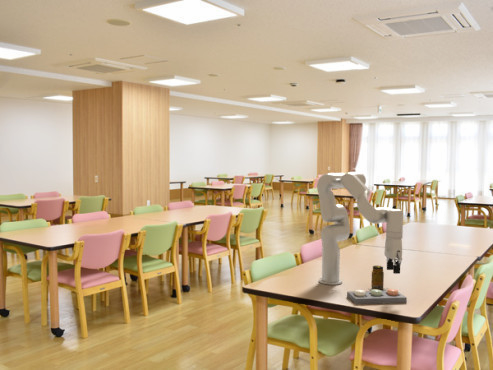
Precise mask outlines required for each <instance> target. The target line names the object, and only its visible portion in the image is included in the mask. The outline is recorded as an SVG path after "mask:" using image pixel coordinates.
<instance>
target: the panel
mask: <svg viewBox="0 0 493 370" xmlns="http://www.w3.org/2000/svg"><path fill="white" fill-rule="evenodd" d="M364 291H365V297H356V296H355V290H353V291H347V292H346V297H347V298H348V299H349V300H350V301H351V302H353V303H354V304H355V305H372V304H375V305H377V304H404V303H405V304H407V299H408V297H407V296H404V294H402V293H400V292H399V291H398V296H389V295H388V294H387V291H382V296H372V295H371V290H364Z"/></svg>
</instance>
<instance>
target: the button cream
mask: <svg viewBox="0 0 493 370" xmlns="http://www.w3.org/2000/svg"><path fill="white" fill-rule="evenodd" d="M354 291H355V296H356V297H365V291H366V290H363V289H355V290H354Z"/></svg>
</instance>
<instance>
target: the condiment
mask: <svg viewBox="0 0 493 370" xmlns="http://www.w3.org/2000/svg"><path fill="white" fill-rule="evenodd" d="M384 275H385V273H384V266H382V265H373V266H372V271H371V286H370V287H369V288H368V290H370V291H371V290H373V289H377V290H381V291H387V290H388V289H389V288H386V287H385V288H384V278H385V277H384Z"/></svg>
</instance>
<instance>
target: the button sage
mask: <svg viewBox="0 0 493 370" xmlns="http://www.w3.org/2000/svg"><path fill="white" fill-rule="evenodd" d="M370 291H371V295H372V296H382V291H381V290H377V289H373V290H371V289H370Z"/></svg>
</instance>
